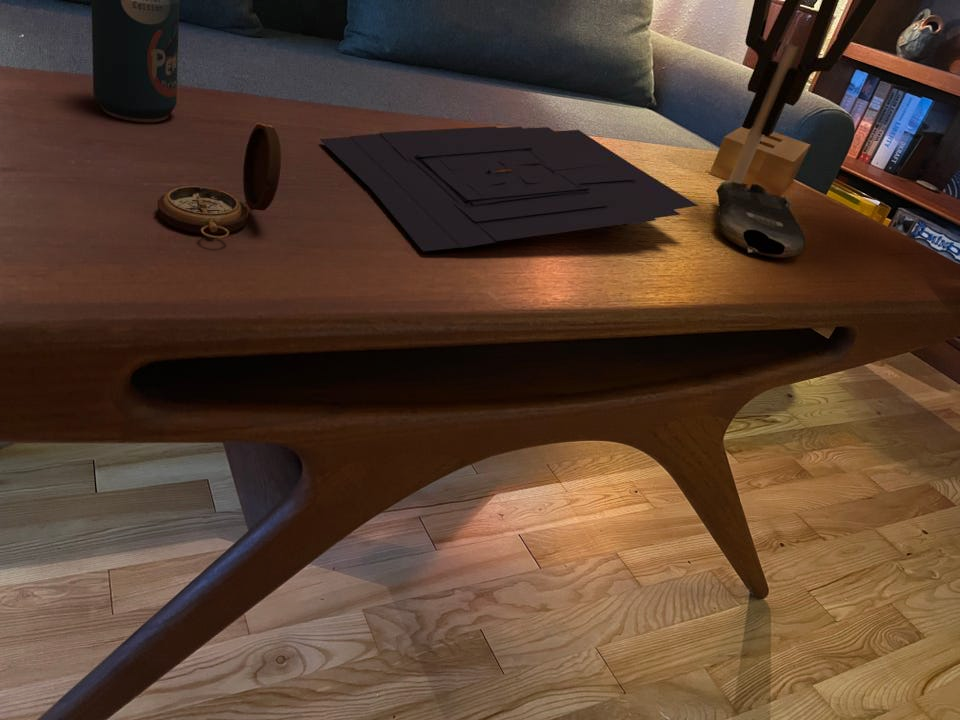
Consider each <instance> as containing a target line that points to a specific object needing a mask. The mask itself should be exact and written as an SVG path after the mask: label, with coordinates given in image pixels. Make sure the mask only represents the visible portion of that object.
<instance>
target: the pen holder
mask: <svg viewBox="0 0 960 720" xmlns="http://www.w3.org/2000/svg"><path fill="white" fill-rule="evenodd" d="M749 131H750V129H746V128H743V127H742V126H740V127H738V128H737V129H735V130H733V131H732V132H730V133H728V134H727V135H725V136H724V137H723V139H722V141H721V144H720V146H719V149H718V152H717V154H716V157H715V159H714V162H713V163H712V165H711V168H710V171H709V174H710V175H713V176H715V177H717V178H720V179H723V180H725V181H727V180H730V179H729V178H730V176H731V174H732V171H733V169H734V166H735V164H736V162H737V159H738V157H739V155H740V152H741V150H742V147H743V145H744V143H745V140H746V138H747V136H748V133H749ZM810 147H811V144H810V143H807V142H804V141H801V140H798V139H795V138H793V137H790V136H787V135H784V134H780V133H778V132H776V131H773V133H772V134H771V135H769V136H765V135H763V136H762V138H761V140H760V143H759V145H758V147H757V149H756V152H755V154H754V156H753V159H752V161H751V163H750V166H749V168H748V170H747V173H746V175H745V177H744V180H743V182H742V183H745V184H748V185H747V186H746V187H745V188H748V189H749V188H751V184H758V185H760V186H762V187H764V188H765V189H766V192H767V193H769V194H773V195H776V196H780V197H781V195H782V194H783V193H784V192H785V191H786V190H787V188H788V187H789V186H790V185H791V183H793V182H794V180H795V179H796V176H797V175H798V172H799V171H800V168H801V167H802V164H803V161H804V160H805V157H806V156H807V153H808V151H809V149H810ZM730 181H731V180H730Z"/></svg>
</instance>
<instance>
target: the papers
mask: <svg viewBox="0 0 960 720" xmlns="http://www.w3.org/2000/svg"><path fill="white" fill-rule="evenodd" d="M318 140H319V141H320V142H321V143H322V144H323V145H325V146H326V148H327V149H328V150H329V151H331V152H332V154H334V155H335V156H336V157H337V158H338V159H339V160H340V161H341V162H342V163H343V164H344V165H345V166H347V168H349V169H350V171H352V172H353V173H354V174H355V175H356V176H357V177H358V178H359V179H360V180H361V181H362V182H363V183H364V184H365V185H366V186H367V187H369V189H370V190H371V191H372V192H373V193H374V195H375V196H376V197H377V198H378V200H380V201H381V203H382V204H383V205H384V207H386V209H387V210H388V212H390V214H391V215H392V216H393V217H394V219H395V220H396V221H397V222H398V223H399V225H400V226H401V227H402V228H403V229H404V231H405V232H406V233H407V234H408V236H409V237H410V238H411V239H412V240H413V241H414V243H415V244H416V245H417V246H418V247H419V248H420V250H421V251H422V252H432V251H440V250H451V249H459V248H462V249H463V248H470V247H474V246H475V247H476V246H481V245H488V244H494V243H501V242H503V241H509V240H516V239H523V238H532V237H538V236H545V235H546V236H547V235H553V234H561V233H567V232H576V231H582V230H590V229H597V228H604V227H613V226H619V225H622V226H629V225H635V224H636V225H637V224H642V223H648V222H656V221H657V219H662V218H669V217H674V216H680V215H681V216H682V214H681V213H680V212H678V211H677V210H681V209H686V208H694V207H700V205H699V204H697V203H695V202H694V201H692V200H691V199H690V198H687V197H686V196H684V195H683V194H681V193H679V192H678V191H676V190H674V189H673V188H671V187H669V186H668V185H666V184H665V183H663V182H662V181H659V180H658V179H656V178H655V177H653V176H652V175H650V174H648V173H647V172H646V171H644V170H642V169H640V168H639V167H637V166H636V165H634V164H633V163H631V162H629V161H628V160H626V159H624V158H623V157H621V156H620V155H618V154H617V153H615V152H614V151H612V150H611V149H609V148H607V147H606V146H604V145H603V144H601V143H600V142H598V141H597V140H595V139H594V138H592V137H590V136H589V135H587V134H586V133H584V132H583V131H581V130H579V129H572V130H571V129H569V130H554V129H552V128H550V127H548V126H547V127H545V126H544V127H543V126H542V127H522V126H510V127H509V126H508V127H507V126H506V127H497V126H479V127H462V128H461V127H459V128H458V127H457V128H441V129H440V128H439V129H423V130H405V131H388V132H387V131H385V132H379V133H370V134H359V135H349V136H345V137H331V138H319V139H318Z"/></svg>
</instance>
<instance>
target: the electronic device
mask: <svg viewBox="0 0 960 720" xmlns="http://www.w3.org/2000/svg"><path fill="white" fill-rule="evenodd" d="M731 182H732V181H730V180H725V181H722V182H721V183H720V184H719V185H718V187H717V188H716V190H715V192H716V194H717V199H718V212H719V213H718V214H717V217H716V222H717V223H716V226H717V229H718V231H719V232H720V233H721V234H722V235H723V236H724V237H725V239H727V241H728V242H730V243H733V245H736V246H738V247H739V248H740V249H743V250H746V251H747V253H754V254H757V255H761V256H763V257H764V256H765V257H768V258H776V259H787V258H793V257H796V256H798V255H800V254H801V253H802V251H803V250H804V247H805V243H806V237H805V235H804V232H803V230H802V229H801V226H800V224H799V222H798V221H797V220H796V217H795V216H794V215H793V212H792V211H791V209H792V203H793V202H792V201H791V200H790V199H789V198H788V197H786V196H784V197H783V196H781V195H780V196H776V195H773V194H769V193H767V192H766V189H765V188H764V187H762V186H760V185H758V184H751V188H746V186H747V185H748V184H745V183H741V184H738V185H737V187H736V189H731V188H730V184H731Z"/></svg>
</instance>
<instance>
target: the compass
mask: <svg viewBox="0 0 960 720" xmlns="http://www.w3.org/2000/svg"><path fill="white" fill-rule="evenodd" d="M247 140H248V141H247V144H246V148H245V153H244V158H243V159H244V160H243V167H242V168H243V169H242V186H243V195H244V200H245V202H244V203H242V202H240V201H239V200H238V199H236V197H234V196H233V195H231V194H230V193H227V192H226V191H223V190H220V189H217V188H212V187H208V186H207V187H206V186H200V185H199V186H195V185H190V186H180V187H177V188H174V189H172V190H171V191H169V192H167V193H166V194H163V195H161V196H160V198H158V200H157V206H156V207H155V212H156V213H157V215H158V216H159V217H160V218H161V219H162V220H163V221H164V222H166V223H167V224H168V225H170V226H172V227H174V228H177V229H179V230H181V231H186V232H190V233H194V234H195V233H196V234H202V235H203V236H205V237H207V238H212V239H224V238H227V237H228V236H229V235H230V233H231V232H235V231H238V230H239V229H241V228H242V227H244V226H245V225H246V223H247V220H248V217H249V213H252V211H266V210H267V209H268V208H269V207H270V206H271V204H272V202H273V201H274V198H275V196H276V193H277V191H278V186H279V182H280V174H281V168H282V151H281V150H282V149H281V142H280V137H279V135H278V133H277V130H276V128H275V127H274V126H273V125H272V124H267V123H261V122H257V123H256V125H255V126H254V127H253V129H252V130H251V133H250V135H249V138H248V139H247ZM220 234H224V235H220Z"/></svg>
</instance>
